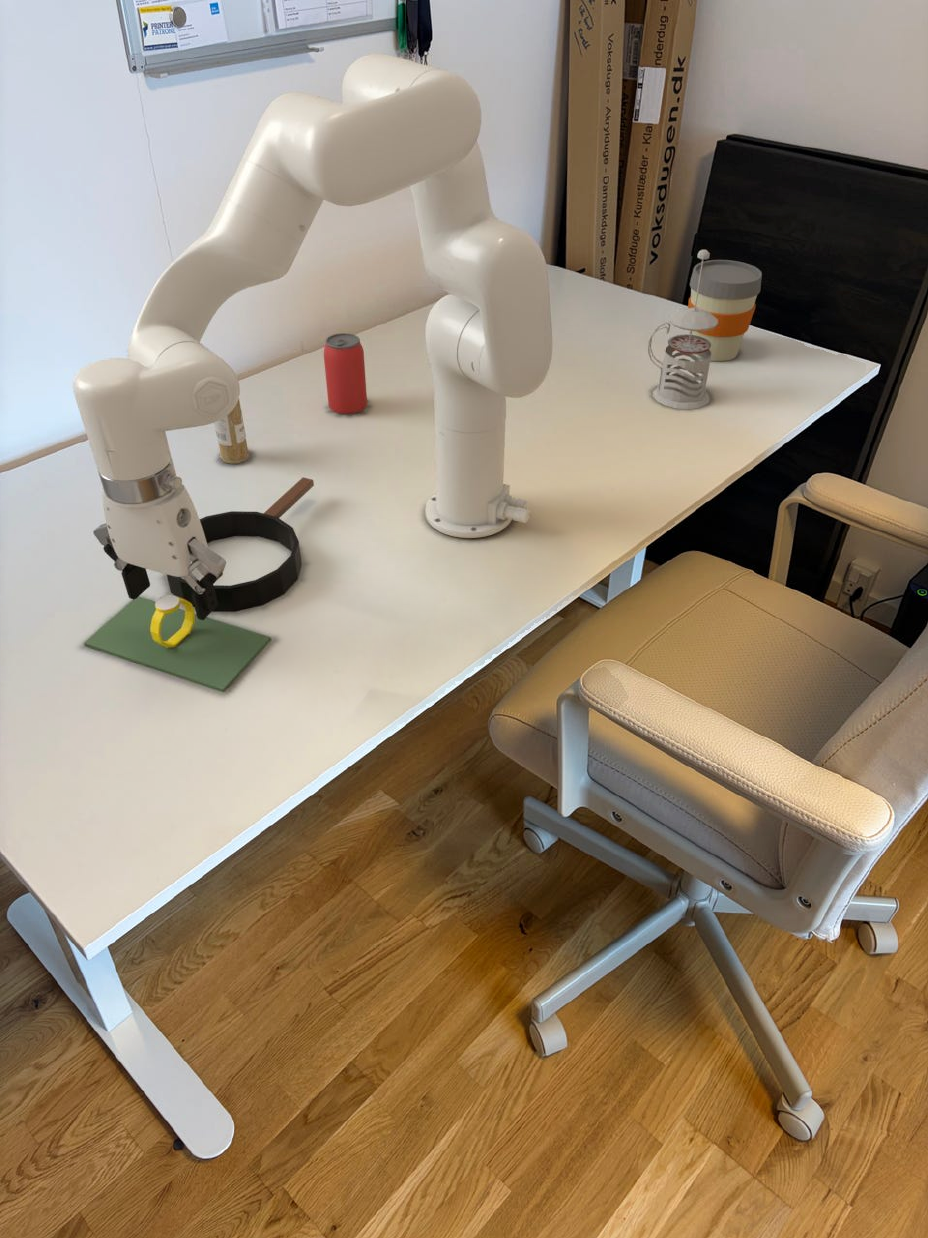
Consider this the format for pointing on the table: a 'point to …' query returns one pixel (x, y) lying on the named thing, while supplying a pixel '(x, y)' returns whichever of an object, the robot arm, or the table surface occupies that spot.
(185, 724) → the table surface
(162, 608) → the watch
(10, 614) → the table surface
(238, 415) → the sprinkles bottle
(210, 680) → the mat
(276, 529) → the pan
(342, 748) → the table surface
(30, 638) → the table surface
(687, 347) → the french press
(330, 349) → the beer can
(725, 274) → the reusable coffee cup
